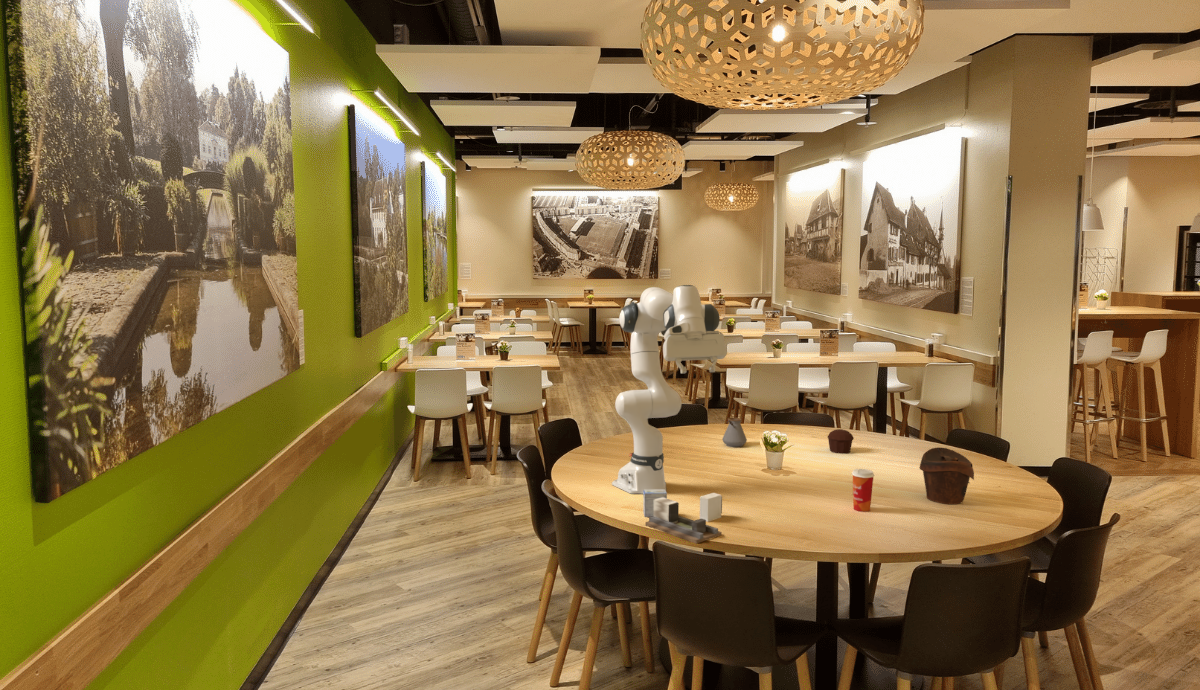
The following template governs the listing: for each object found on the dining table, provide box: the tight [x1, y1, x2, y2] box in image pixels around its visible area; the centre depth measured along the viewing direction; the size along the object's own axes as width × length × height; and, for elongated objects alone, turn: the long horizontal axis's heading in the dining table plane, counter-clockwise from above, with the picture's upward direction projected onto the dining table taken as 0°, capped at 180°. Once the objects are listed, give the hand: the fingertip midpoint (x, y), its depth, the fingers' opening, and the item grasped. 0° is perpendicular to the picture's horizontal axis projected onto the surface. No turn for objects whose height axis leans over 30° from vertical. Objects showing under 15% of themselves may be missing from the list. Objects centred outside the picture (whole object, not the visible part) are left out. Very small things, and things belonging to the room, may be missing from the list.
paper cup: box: [851, 468, 875, 513], centre depth 289 cm, size 8×8×14 cm
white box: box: [699, 492, 723, 523], centre depth 280 cm, size 4×8×8 cm, turn 131°
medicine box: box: [642, 489, 668, 518], centre depth 283 cm, size 8×4×9 cm, turn 92°
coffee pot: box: [721, 417, 747, 448], centre depth 380 cm, size 21×12×15 cm, turn 161°
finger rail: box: [645, 497, 723, 544], centre depth 267 cm, size 23×12×8 cm, turn 41°
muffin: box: [827, 428, 854, 455], centre depth 373 cm, size 12×11×10 cm
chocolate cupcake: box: [919, 446, 975, 505], centre depth 300 cm, size 18×20×18 cm
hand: (698, 372), depth 254 cm, fingers open, 8 cm apart
